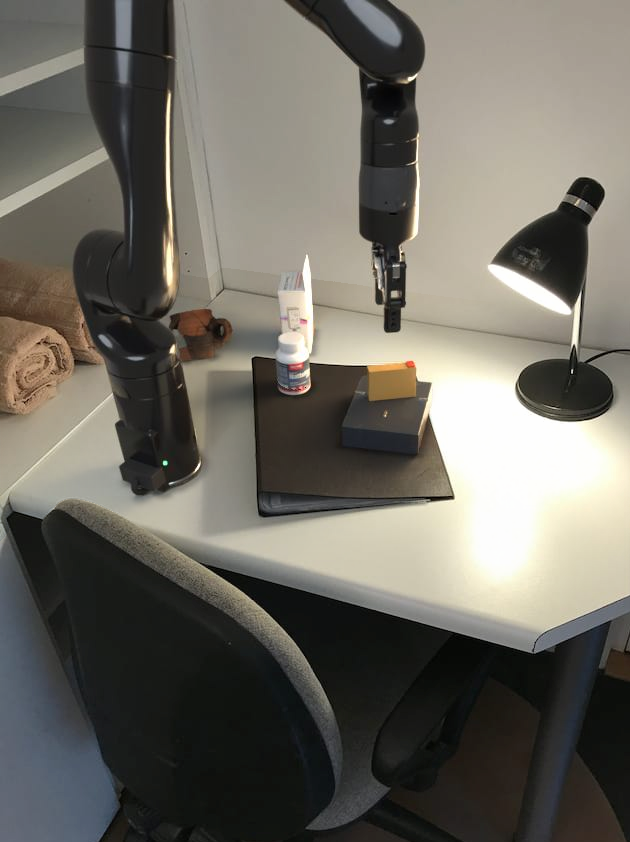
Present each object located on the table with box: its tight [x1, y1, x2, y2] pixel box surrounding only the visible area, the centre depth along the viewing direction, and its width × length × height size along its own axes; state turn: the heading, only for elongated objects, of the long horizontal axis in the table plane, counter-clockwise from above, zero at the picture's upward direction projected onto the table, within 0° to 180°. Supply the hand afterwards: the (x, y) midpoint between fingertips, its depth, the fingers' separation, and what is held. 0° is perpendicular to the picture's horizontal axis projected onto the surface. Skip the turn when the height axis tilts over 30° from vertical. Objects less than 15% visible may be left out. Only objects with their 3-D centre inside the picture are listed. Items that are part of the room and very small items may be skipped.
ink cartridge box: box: [276, 254, 314, 355], centre depth 128 cm, size 9×5×15 cm, turn 179°
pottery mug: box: [168, 308, 234, 362], centre depth 131 cm, size 12×10×8 cm
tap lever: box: [366, 360, 417, 401], centre depth 111 cm, size 7×2×5 cm, turn 99°
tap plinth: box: [341, 375, 433, 455], centre depth 112 cm, size 15×11×4 cm
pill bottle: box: [274, 332, 311, 396], centre depth 119 cm, size 5×5×9 cm
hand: (387, 317), depth 104 cm, fingers open, 8 cm apart
